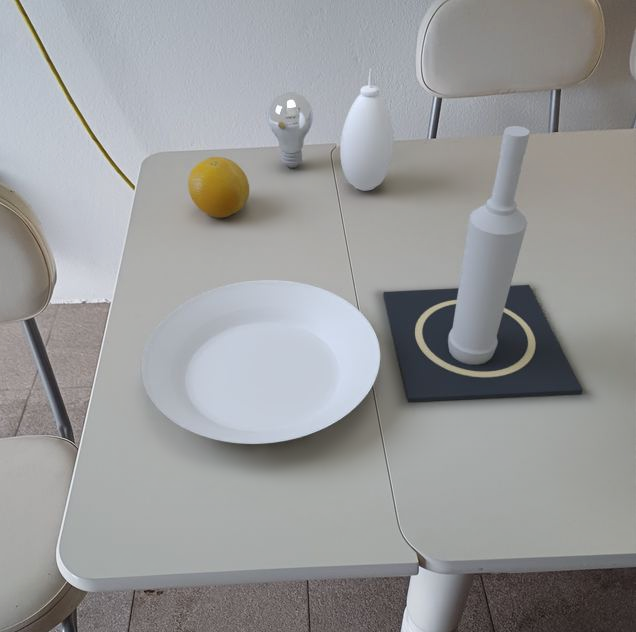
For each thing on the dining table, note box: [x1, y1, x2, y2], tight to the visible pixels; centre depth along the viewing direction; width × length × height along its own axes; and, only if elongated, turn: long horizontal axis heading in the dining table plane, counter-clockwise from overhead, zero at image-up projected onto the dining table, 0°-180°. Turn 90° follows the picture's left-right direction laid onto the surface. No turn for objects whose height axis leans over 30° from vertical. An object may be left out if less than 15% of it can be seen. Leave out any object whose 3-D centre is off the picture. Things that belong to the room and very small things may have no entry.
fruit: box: [187, 156, 250, 219], centre depth 94 cm, size 9×8×8 cm
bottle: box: [448, 125, 531, 365], centre depth 63 cm, size 5×5×25 cm
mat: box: [382, 284, 584, 403], centre depth 73 cm, size 18×18×1 cm
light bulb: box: [267, 91, 314, 169], centre depth 102 cm, size 7×7×12 cm
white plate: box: [140, 279, 381, 445], centre depth 69 cm, size 25×25×4 cm
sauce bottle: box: [339, 67, 395, 192], centre depth 94 cm, size 8×8×18 cm
